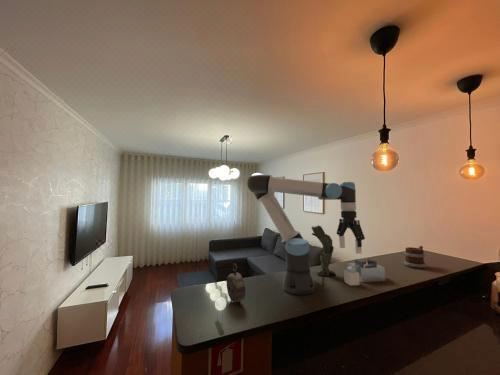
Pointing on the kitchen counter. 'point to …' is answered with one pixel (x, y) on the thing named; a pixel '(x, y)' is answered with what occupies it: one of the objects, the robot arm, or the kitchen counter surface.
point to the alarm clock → (235, 287)
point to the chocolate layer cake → (415, 258)
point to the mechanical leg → (324, 251)
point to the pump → (351, 276)
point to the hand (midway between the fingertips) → (350, 250)
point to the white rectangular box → (369, 270)
